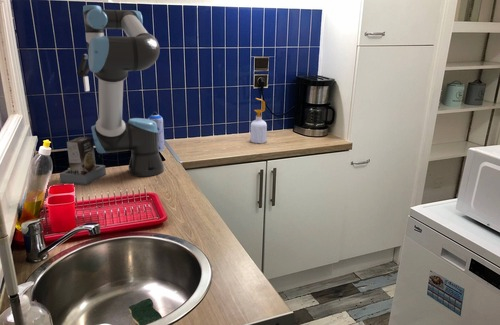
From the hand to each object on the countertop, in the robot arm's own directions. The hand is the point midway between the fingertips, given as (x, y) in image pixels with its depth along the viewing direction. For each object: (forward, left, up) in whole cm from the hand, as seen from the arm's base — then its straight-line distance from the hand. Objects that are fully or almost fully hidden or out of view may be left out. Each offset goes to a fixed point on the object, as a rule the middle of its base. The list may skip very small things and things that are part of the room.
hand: (100, 91), depth 186 cm
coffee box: (-4, +25, -32) cm, 41 cm away
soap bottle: (-63, -53, -33) cm, 89 cm away
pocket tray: (-4, +25, -33) cm, 41 cm away
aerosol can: (-15, -23, -33) cm, 43 cm away
